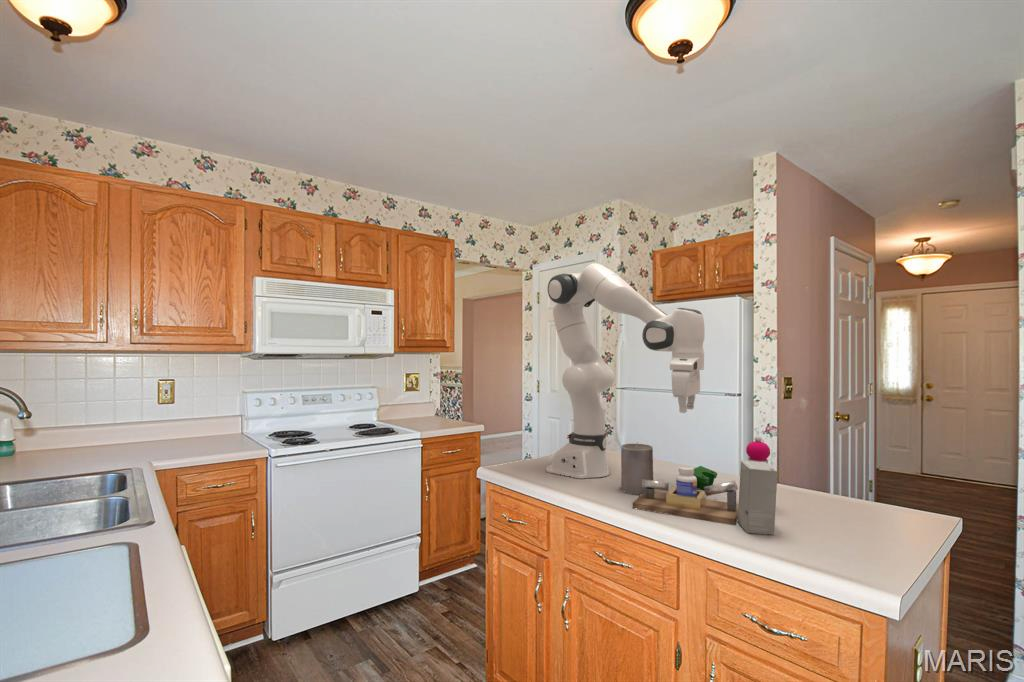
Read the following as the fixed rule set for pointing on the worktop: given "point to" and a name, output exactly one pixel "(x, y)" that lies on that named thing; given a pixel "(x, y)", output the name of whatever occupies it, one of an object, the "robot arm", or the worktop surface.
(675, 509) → the shaft stand
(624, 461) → the pillar candle
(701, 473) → the clamp
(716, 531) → the worktop surface
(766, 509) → the skincare box
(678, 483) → the pill bottle
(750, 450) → the pepper mill
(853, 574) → the worktop surface
